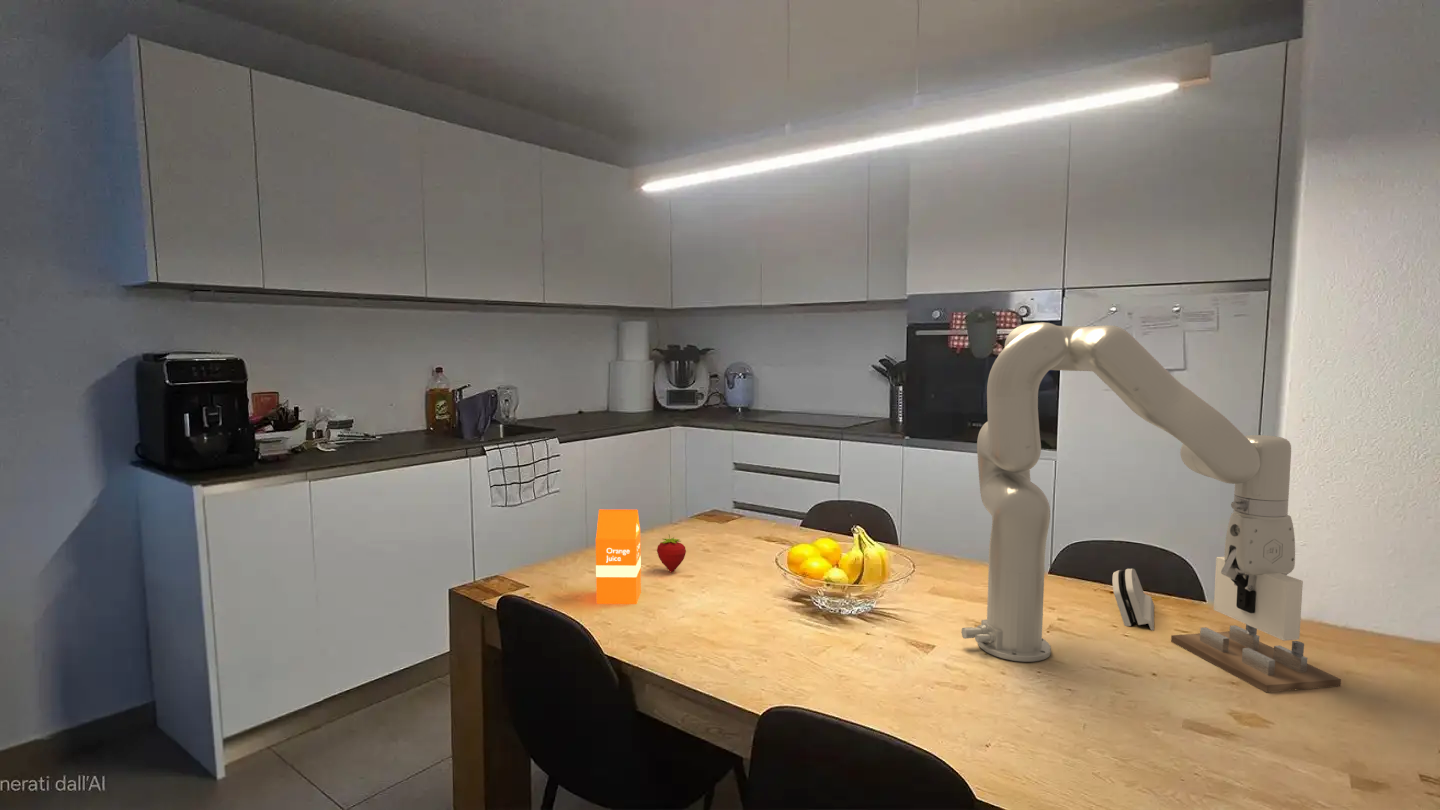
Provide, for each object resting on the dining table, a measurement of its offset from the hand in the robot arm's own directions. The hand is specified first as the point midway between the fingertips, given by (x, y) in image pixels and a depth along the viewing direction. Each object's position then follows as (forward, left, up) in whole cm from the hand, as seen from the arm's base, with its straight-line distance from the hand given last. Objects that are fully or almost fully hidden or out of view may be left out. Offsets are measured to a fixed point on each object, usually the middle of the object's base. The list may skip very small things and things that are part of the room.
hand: (1254, 608), depth 126 cm
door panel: (0, 0, -3) cm, 3 cm away
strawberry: (-97, +66, -10) cm, 118 cm away
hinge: (-4, +24, -10) cm, 26 cm away
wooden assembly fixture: (0, 0, -10) cm, 10 cm away
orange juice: (-110, +50, -10) cm, 121 cm away
